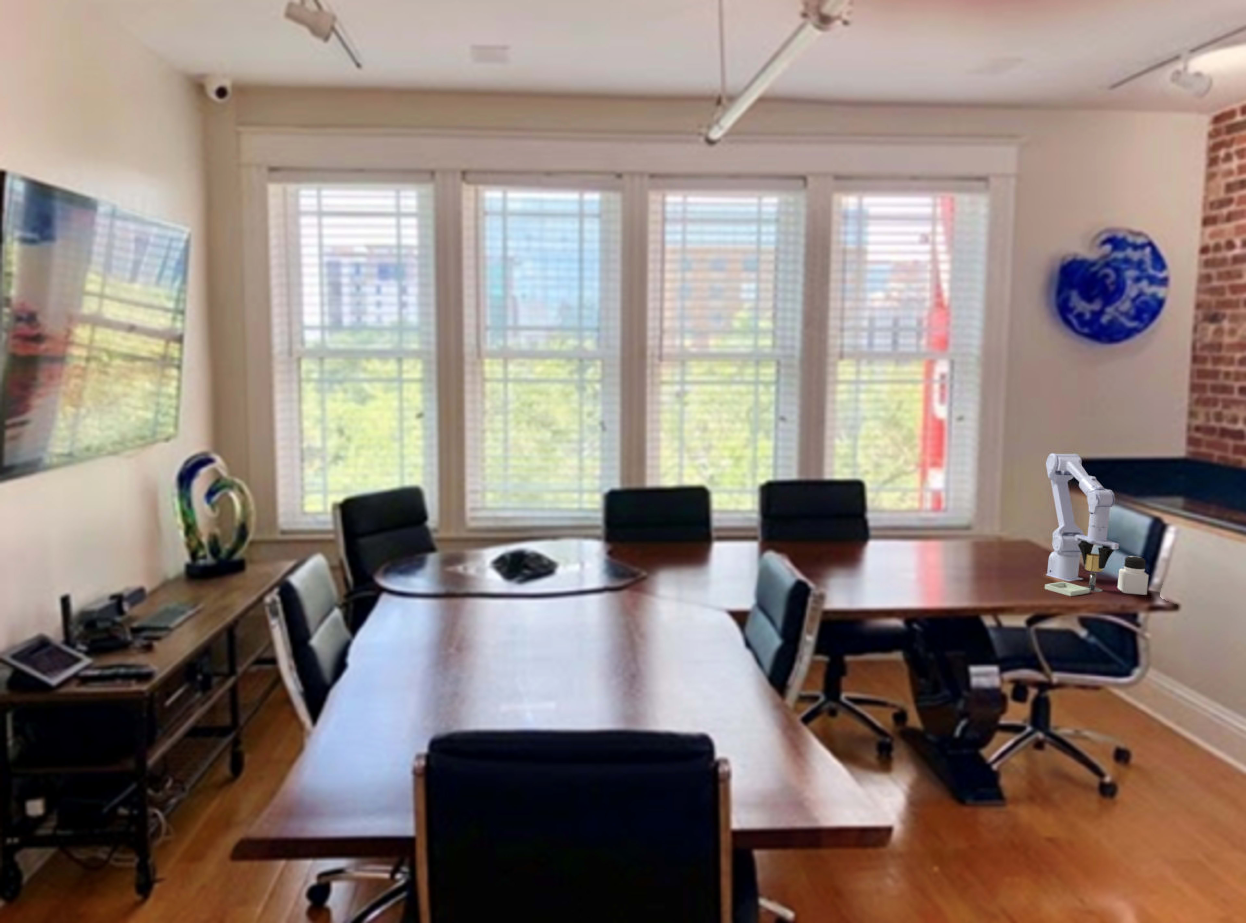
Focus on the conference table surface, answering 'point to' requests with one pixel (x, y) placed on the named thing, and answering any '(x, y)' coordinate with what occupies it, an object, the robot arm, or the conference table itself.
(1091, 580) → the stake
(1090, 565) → the collar
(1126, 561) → the medicine bottle
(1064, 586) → the tray
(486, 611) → the conference table surface
